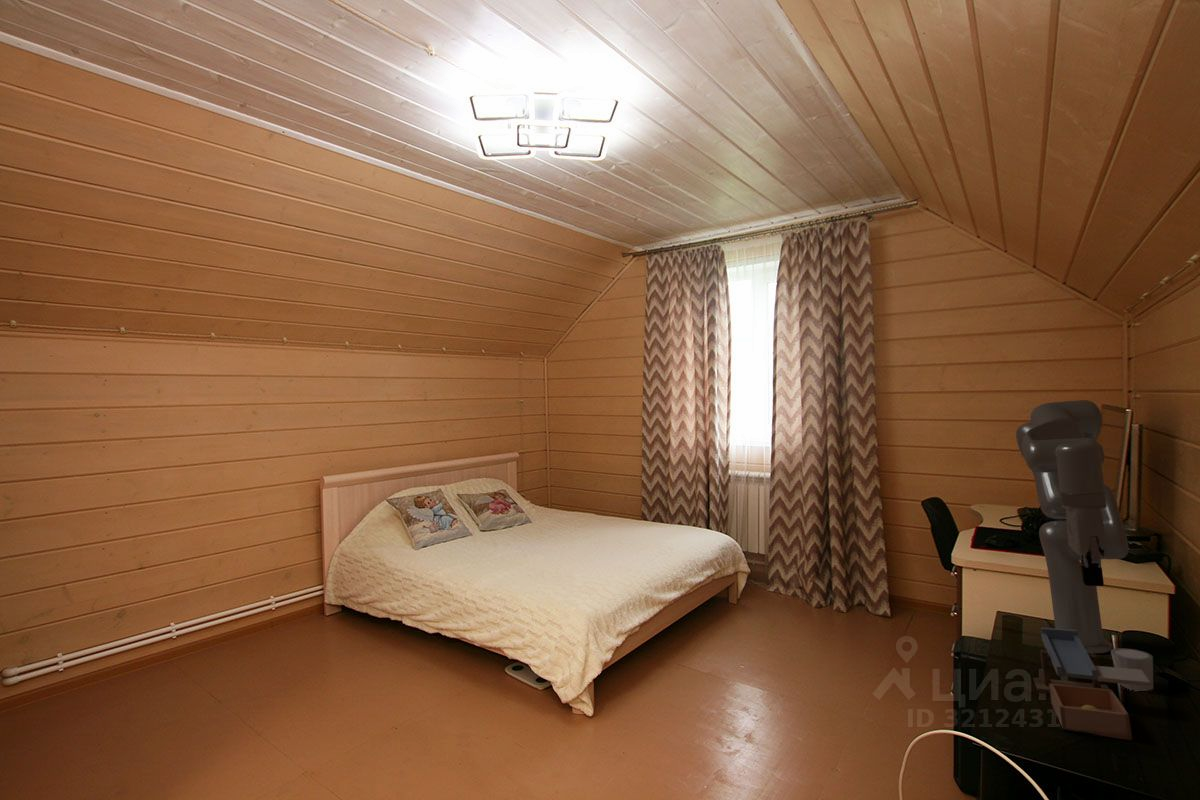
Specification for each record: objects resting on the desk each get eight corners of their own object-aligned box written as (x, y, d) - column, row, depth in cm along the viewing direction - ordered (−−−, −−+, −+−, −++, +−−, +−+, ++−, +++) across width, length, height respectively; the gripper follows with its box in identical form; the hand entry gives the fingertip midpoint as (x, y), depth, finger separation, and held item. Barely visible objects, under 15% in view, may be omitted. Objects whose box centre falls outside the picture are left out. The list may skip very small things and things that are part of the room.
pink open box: (1051, 705, 123) (1048, 683, 123) (1114, 712, 118) (1111, 689, 118) (1062, 731, 113) (1059, 707, 113) (1132, 740, 108) (1129, 715, 108)
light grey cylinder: (1165, 693, 124) (1161, 659, 124) (1128, 693, 125) (1123, 659, 125) (1142, 679, 130) (1138, 647, 131) (1107, 679, 132) (1103, 647, 132)
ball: (1077, 700, 115) (1081, 712, 113) (1098, 702, 114) (1103, 714, 111) (1078, 713, 116) (1082, 726, 113) (1099, 716, 114) (1104, 728, 112)
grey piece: (1041, 642, 138) (1039, 627, 138) (1123, 649, 131) (1121, 632, 131) (1057, 680, 123) (1055, 663, 123) (1151, 689, 116) (1149, 671, 116)
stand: (1033, 681, 134) (1029, 645, 134) (1107, 688, 128) (1102, 651, 128) (1038, 692, 129) (1033, 654, 129) (1115, 700, 122) (1109, 661, 123)
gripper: (1053, 494, 136) (1063, 573, 135) (1070, 507, 122) (1080, 595, 122) (1095, 493, 132) (1105, 575, 132) (1116, 506, 119) (1127, 597, 119)
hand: (1093, 584), depth 127 cm, fingers closed
